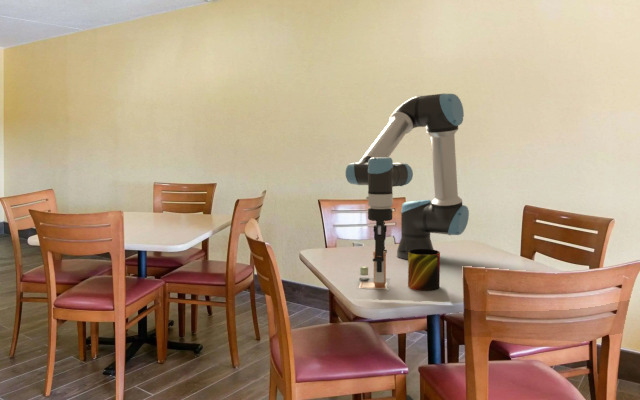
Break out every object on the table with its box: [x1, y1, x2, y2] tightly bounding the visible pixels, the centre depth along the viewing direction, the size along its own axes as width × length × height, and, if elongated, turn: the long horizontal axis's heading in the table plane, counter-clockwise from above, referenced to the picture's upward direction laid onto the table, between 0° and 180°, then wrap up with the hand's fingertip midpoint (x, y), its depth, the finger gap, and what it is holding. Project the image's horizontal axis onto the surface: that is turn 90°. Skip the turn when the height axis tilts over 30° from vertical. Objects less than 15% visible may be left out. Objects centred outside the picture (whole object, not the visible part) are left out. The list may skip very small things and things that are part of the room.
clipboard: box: [356, 277, 390, 291], centre depth 158 cm, size 10×14×1 cm
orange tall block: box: [372, 250, 387, 288], centre depth 153 cm, size 4×4×11 cm
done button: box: [359, 265, 369, 276], centre depth 162 cm, size 3×3×2 cm
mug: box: [407, 249, 441, 292], centre depth 154 cm, size 10×14×12 cm
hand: (379, 277), depth 153 cm, fingers open, 10 cm apart
